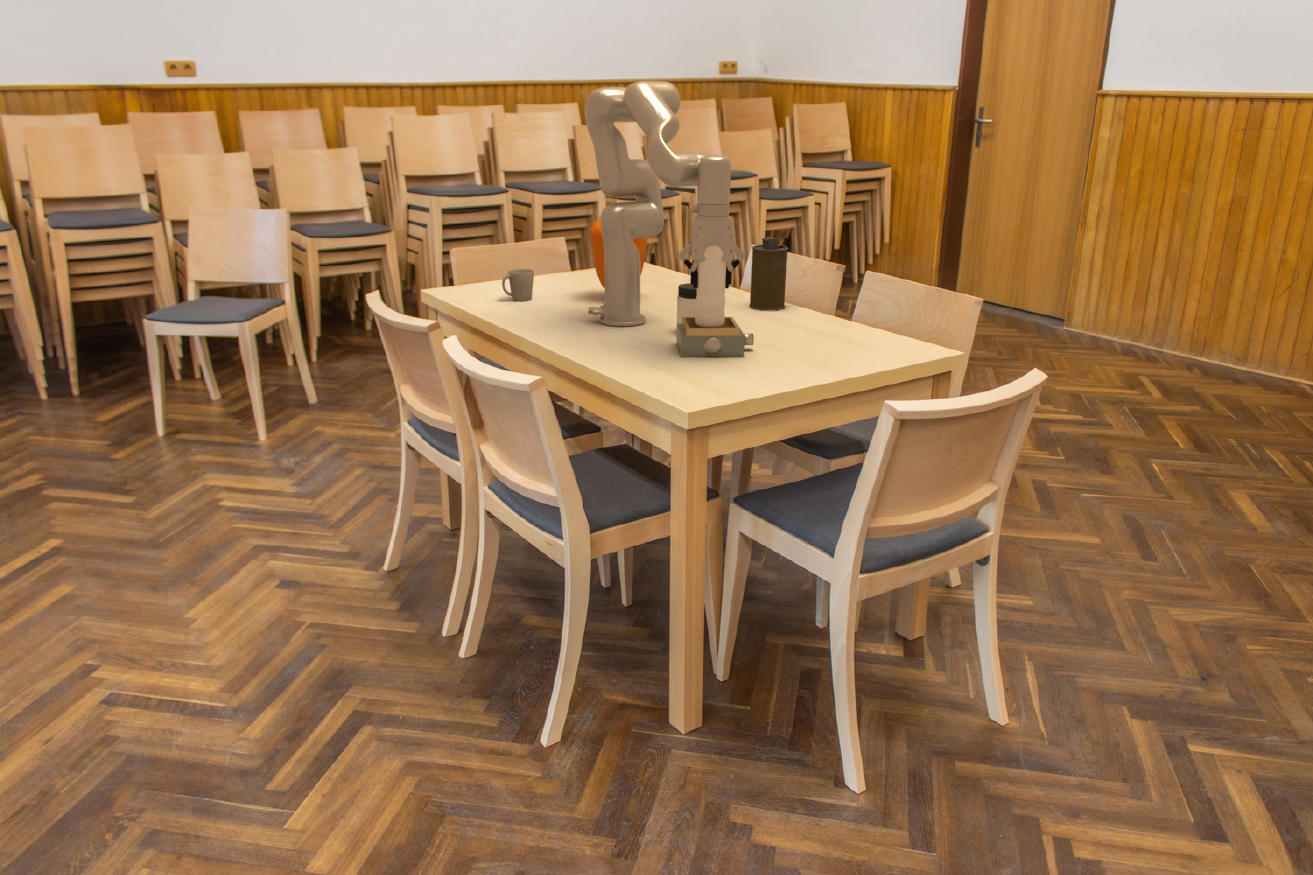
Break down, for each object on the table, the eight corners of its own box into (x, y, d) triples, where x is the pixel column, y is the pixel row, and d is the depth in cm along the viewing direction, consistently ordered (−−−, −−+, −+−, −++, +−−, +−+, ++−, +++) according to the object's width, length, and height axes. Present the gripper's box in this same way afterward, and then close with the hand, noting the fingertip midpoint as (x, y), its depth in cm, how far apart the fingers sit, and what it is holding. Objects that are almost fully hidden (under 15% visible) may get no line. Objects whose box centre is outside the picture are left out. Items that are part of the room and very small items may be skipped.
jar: (672, 333, 251) (672, 287, 247) (680, 327, 258) (681, 282, 254) (705, 336, 248) (706, 290, 244) (713, 329, 256) (714, 284, 252)
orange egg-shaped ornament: (658, 300, 290) (659, 215, 282) (609, 307, 281) (609, 219, 273) (627, 291, 304) (627, 209, 295) (580, 297, 295) (578, 213, 286)
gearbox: (681, 357, 228) (681, 329, 226) (676, 343, 241) (676, 317, 239) (757, 356, 230) (758, 329, 227) (748, 342, 242) (749, 316, 240)
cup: (539, 300, 289) (538, 271, 286) (509, 304, 284) (508, 275, 281) (527, 296, 295) (526, 268, 292) (497, 299, 290) (496, 271, 287)
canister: (768, 312, 276) (771, 241, 269) (741, 306, 283) (744, 237, 277) (793, 307, 283) (797, 238, 276) (767, 301, 290) (770, 234, 283)
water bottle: (722, 329, 230) (726, 222, 221) (692, 327, 231) (695, 221, 222) (726, 322, 236) (730, 218, 228) (697, 321, 237) (700, 217, 229)
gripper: (677, 213, 220) (675, 290, 226) (752, 213, 222) (749, 290, 228) (674, 209, 227) (672, 284, 233) (747, 209, 229) (744, 284, 235)
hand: (710, 286), depth 230 cm, fingers closed on water bottle, 6 cm apart
